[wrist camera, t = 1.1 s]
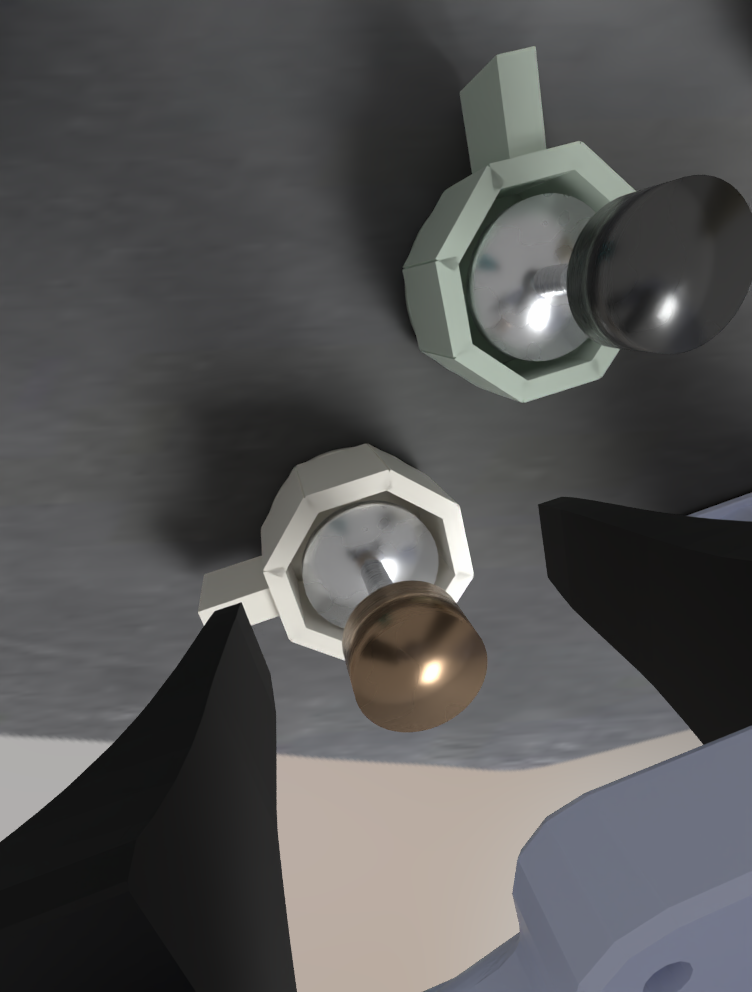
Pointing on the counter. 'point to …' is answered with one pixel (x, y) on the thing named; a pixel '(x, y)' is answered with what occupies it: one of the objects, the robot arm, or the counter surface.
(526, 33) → the counter surface
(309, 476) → the cream press pot
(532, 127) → the sage press pot
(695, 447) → the counter surface
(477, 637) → the cream press plunger
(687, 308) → the sage press plunger
